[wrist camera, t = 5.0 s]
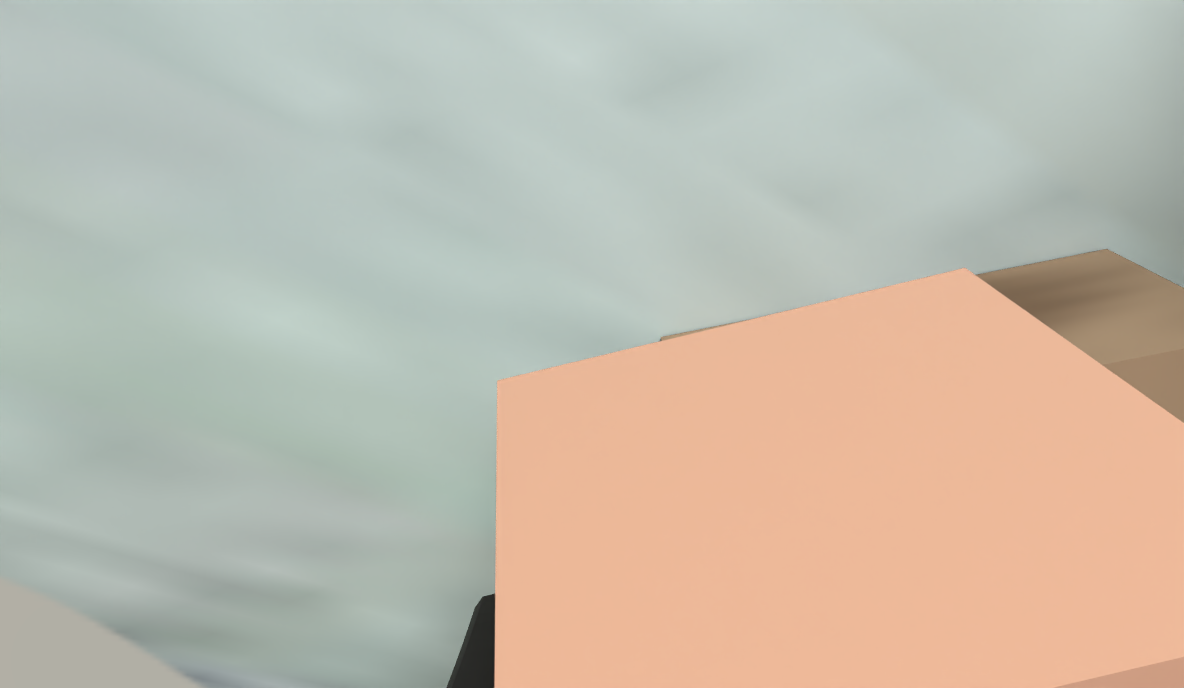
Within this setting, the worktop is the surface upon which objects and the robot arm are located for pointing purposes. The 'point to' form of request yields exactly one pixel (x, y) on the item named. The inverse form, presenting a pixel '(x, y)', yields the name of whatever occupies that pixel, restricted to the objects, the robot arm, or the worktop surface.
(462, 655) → the robot arm
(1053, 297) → the walnut block
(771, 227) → the worktop surface
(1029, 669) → the terracotta cube
